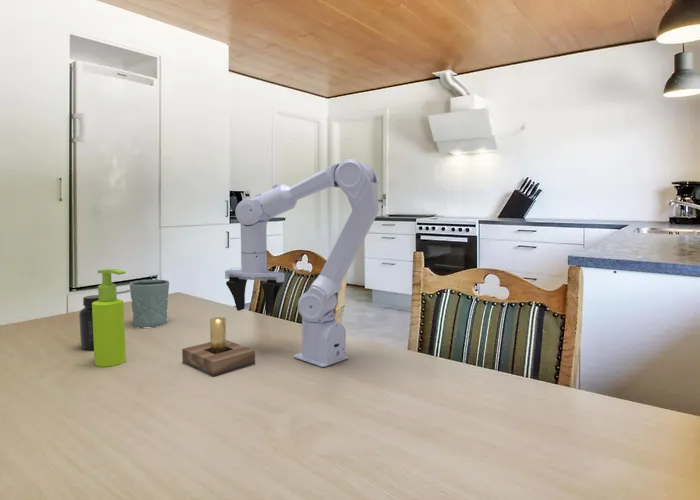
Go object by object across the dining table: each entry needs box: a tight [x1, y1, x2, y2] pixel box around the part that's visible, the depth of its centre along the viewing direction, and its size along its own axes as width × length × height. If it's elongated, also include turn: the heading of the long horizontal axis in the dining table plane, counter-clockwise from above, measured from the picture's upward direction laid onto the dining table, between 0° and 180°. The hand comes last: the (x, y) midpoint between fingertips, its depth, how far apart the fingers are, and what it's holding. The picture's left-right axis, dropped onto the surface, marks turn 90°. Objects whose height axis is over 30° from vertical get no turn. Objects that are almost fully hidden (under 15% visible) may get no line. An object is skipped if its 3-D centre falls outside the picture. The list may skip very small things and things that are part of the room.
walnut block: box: [181, 339, 256, 377], centre depth 97 cm, size 12×10×3 cm
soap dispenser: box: [92, 268, 127, 368], centre depth 97 cm, size 6×7×20 cm
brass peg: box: [209, 316, 227, 354], centre depth 97 cm, size 3×3×9 cm
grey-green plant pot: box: [129, 279, 170, 328], centre depth 128 cm, size 10×10×12 cm
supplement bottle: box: [78, 294, 99, 351], centre depth 108 cm, size 7×7×12 cm
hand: (254, 311), depth 105 cm, fingers open, 7 cm apart
